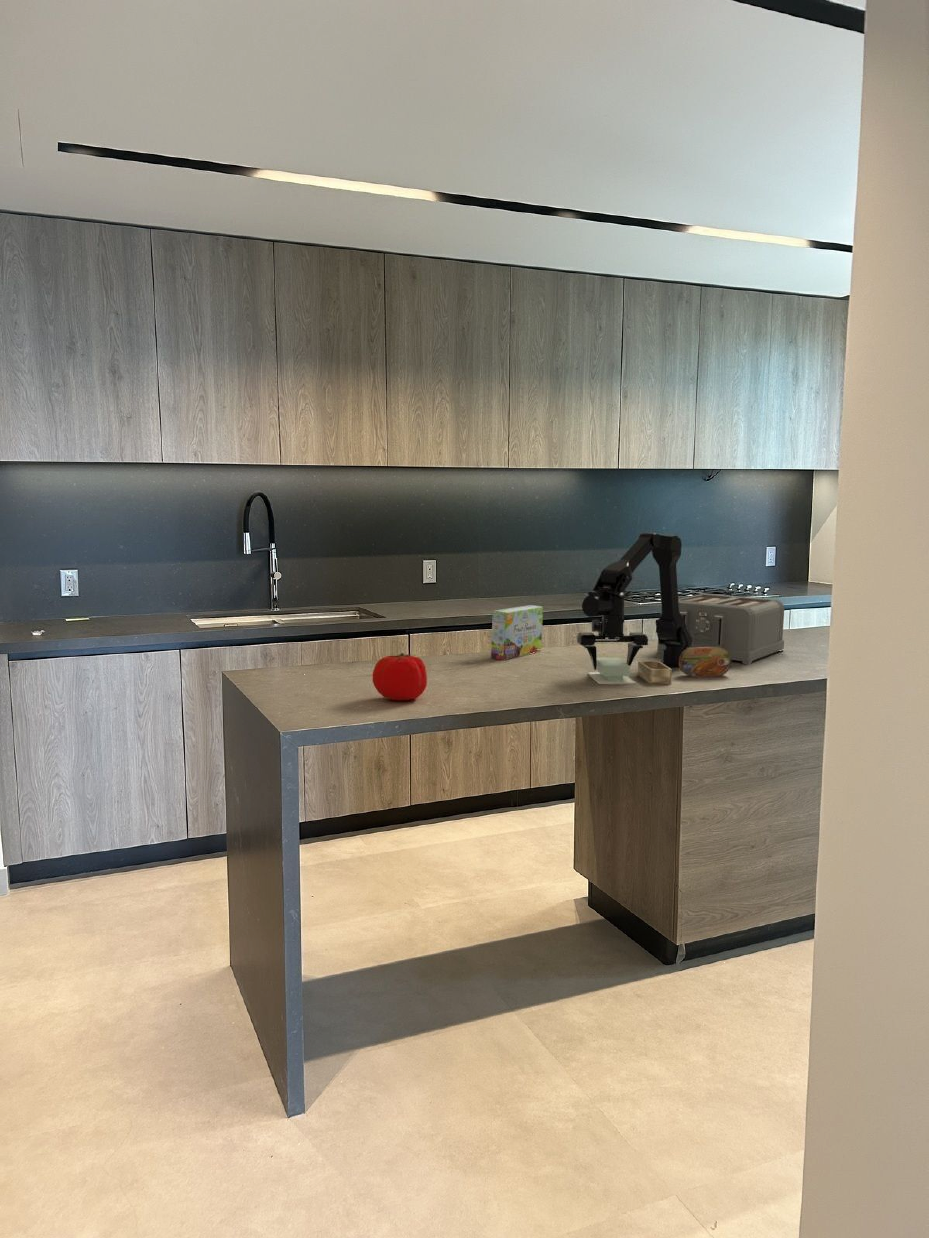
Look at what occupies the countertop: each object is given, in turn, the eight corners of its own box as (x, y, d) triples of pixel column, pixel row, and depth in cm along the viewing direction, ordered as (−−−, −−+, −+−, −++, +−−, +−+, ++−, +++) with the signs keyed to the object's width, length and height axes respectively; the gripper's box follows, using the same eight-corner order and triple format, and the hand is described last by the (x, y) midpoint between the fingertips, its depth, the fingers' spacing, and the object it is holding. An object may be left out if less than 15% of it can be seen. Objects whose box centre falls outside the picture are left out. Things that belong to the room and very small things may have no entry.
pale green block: (618, 672, 263) (618, 657, 263) (629, 681, 251) (630, 666, 251) (593, 672, 263) (593, 657, 262) (603, 682, 251) (604, 666, 250)
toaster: (651, 654, 297) (653, 601, 295) (696, 641, 325) (699, 592, 323) (744, 666, 279) (747, 609, 276) (784, 651, 307) (787, 599, 304)
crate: (658, 674, 263) (658, 661, 263) (671, 683, 251) (671, 669, 251) (637, 675, 263) (638, 661, 262) (649, 683, 251) (650, 669, 250)
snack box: (505, 661, 282) (506, 612, 280) (490, 658, 285) (491, 610, 283) (542, 652, 298) (543, 605, 296) (528, 649, 302) (529, 604, 300)
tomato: (427, 705, 223) (428, 658, 221) (372, 705, 222) (372, 657, 220) (425, 694, 235) (426, 649, 233) (372, 694, 234) (373, 649, 232)
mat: (622, 673, 264) (622, 672, 264) (635, 683, 251) (635, 682, 251) (587, 673, 264) (587, 672, 263) (598, 684, 250) (599, 682, 250)
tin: (680, 677, 261) (682, 648, 260) (676, 675, 264) (678, 646, 263) (731, 676, 263) (732, 647, 262) (726, 674, 266) (727, 645, 265)
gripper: (638, 610, 263) (636, 664, 265) (573, 610, 262) (572, 664, 264) (649, 615, 252) (647, 671, 254) (582, 615, 251) (580, 671, 253)
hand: (611, 669), depth 257 cm, fingers open, 9 cm apart
